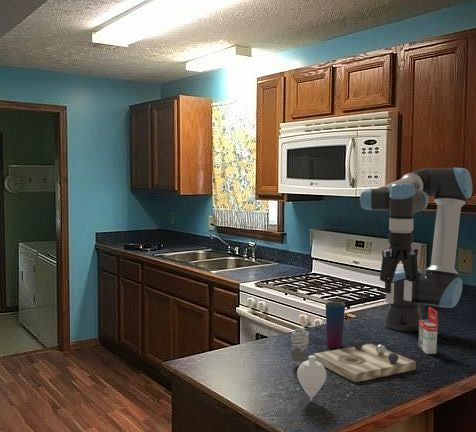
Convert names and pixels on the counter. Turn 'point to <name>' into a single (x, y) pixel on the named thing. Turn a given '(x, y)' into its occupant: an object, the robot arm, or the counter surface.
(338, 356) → the board
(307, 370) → the spinning top
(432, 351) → the ink box
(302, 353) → the light bulb
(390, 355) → the black rubber ball
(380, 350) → the steel ball
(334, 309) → the cup
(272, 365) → the counter surface
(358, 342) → the black rubber ball
